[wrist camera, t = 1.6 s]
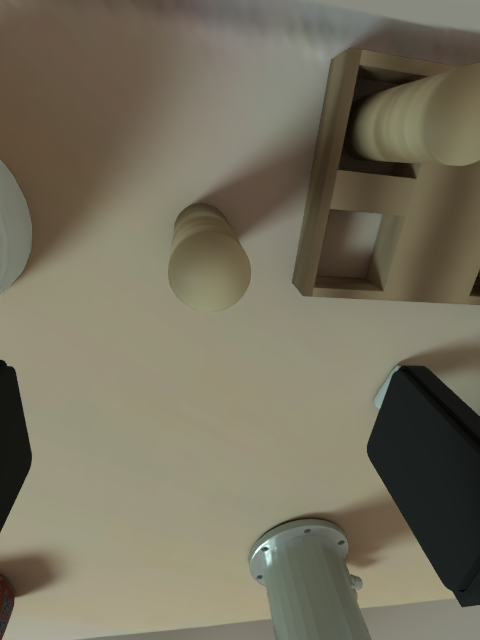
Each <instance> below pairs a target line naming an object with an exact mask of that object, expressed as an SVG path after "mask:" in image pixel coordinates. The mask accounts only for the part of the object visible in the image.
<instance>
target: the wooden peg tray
mask: <svg viewBox="0 0 480 640" xmlns="http://www.w3.org/2000/svg"><path fill="white" fill-rule="evenodd" d="M357 77H358V78H364V79H370V80H376V81H382V82H388V83H394V84H400V86H396V87H393V88H390V89H386V90H383V91H380V92H376V93H373V94H370V95H366V96H363V97H361V98H359V99H357V100H356V101H355V102H354V103H353V104H352V105H351V103H352V98H353V93H354V88H355V84H356V79H357ZM342 147H344V149H345V151H346V152H347V153H348V154H349V155H350V156H351V157H353V158H355V159H358V160H369V161H386V162H397V163H396V167H395V171H394V175H393V176H388V175H380V174H371V173H362V172H354V171H345V170H338V167H339V162H340V157H341V152H342ZM330 209H337V210H348V211H358V212H369V213H380V214H383V216H382V220H381V223H380V227H379V231H378V235H377V238H376V242H375V246H374V250H373V253H372V257H371V261H370V265H369V268H368V272H367V276H366V279H363V278H346V277H330V276H316V274H317V270H318V265H319V260H320V255H321V250H322V245H323V240H324V235H325V230H326V225H327V221H328V216H329V211H330ZM476 278H478V279H480V62H478V63H474V64H470V65H467V66H463V67H457V66H451V65H446V64H440V63H434V62H429V61H423V60H418V59H412V58H407V57H401V56H395V55H390V54H384V53H379V52H373V51H367V50H362V49H356V48H349V49H348V50H346V51H344V52H343V53H341V54H340V55H338V56H336V57H335V58H333V59H331V64H330V70H329V75H328V81H327V87H326V92H325V98H324V104H323V109H322V115H321V121H320V126H319V132H318V138H317V143H316V149H315V155H314V160H313V166H312V172H311V178H310V183H309V189H308V195H307V200H306V206H305V212H304V217H303V223H302V229H301V234H300V240H299V246H298V251H297V257H296V263H295V268H294V274H293V280H292V283H293V284H294V286H295V287H296V288H297V289H298V291H299V292H300V293H301V294H302V296H310V297H330V298H350V299H370V300H390V301H410V302H430V303H450V304H470V305H480V286H478V285H474V282H475V280H476Z"/></svg>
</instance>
